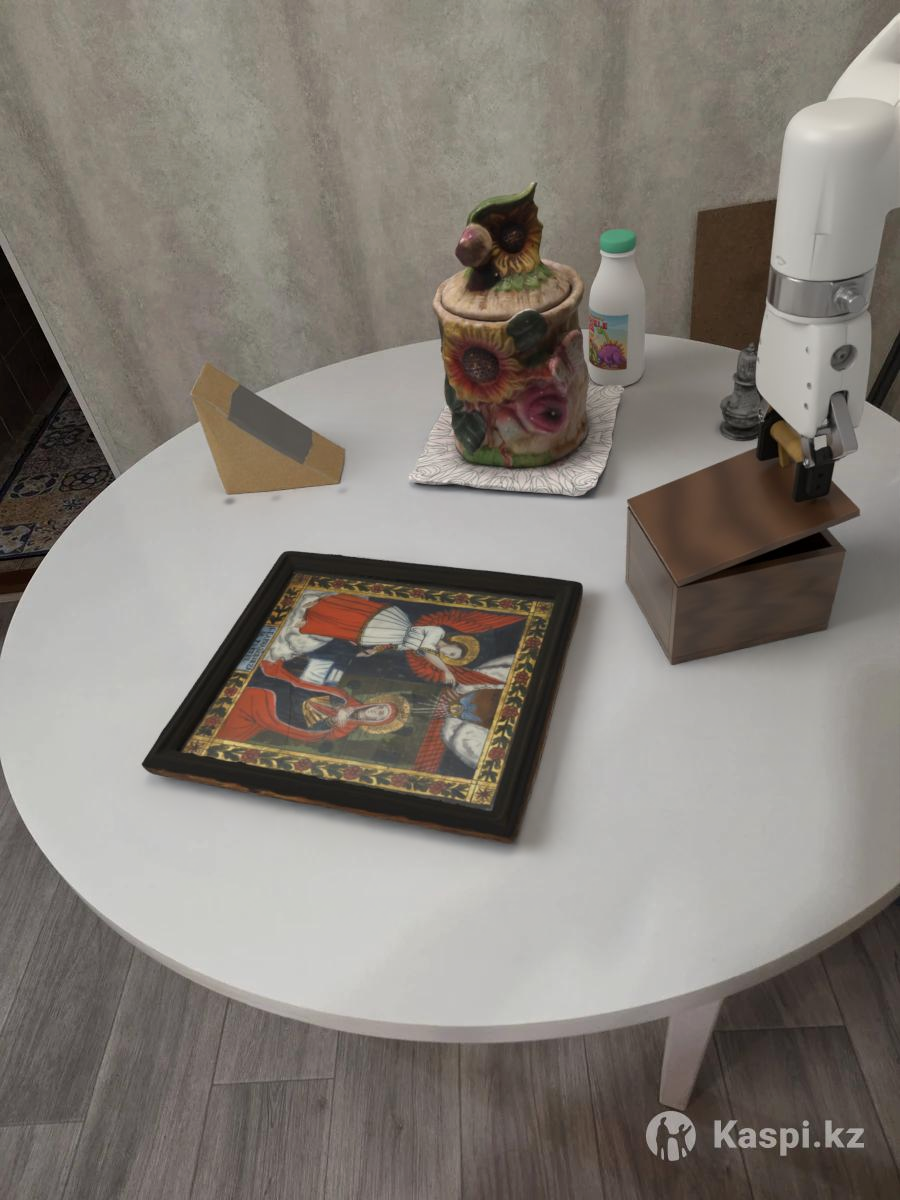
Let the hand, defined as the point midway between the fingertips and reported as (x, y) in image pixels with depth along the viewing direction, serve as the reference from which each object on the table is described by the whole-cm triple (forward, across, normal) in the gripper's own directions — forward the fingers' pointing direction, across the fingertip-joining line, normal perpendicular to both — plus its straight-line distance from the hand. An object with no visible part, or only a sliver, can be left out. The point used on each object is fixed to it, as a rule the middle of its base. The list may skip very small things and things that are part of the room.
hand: (791, 474), depth 79 cm
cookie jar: (+14, +37, +17) cm, 43 cm away
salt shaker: (+15, +29, -10) cm, 34 cm away
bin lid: (+3, 0, +5) cm, 6 cm away
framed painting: (+13, 0, +41) cm, 43 cm away
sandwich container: (+13, +42, +48) cm, 65 cm away
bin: (+14, 0, +6) cm, 15 cm away
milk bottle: (+15, +49, 0) cm, 51 cm away
